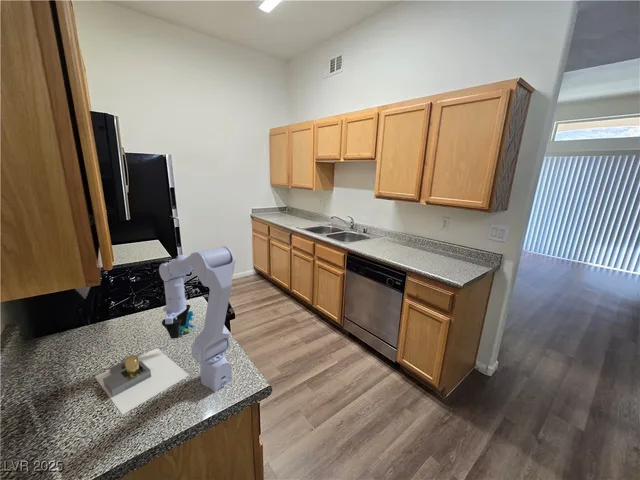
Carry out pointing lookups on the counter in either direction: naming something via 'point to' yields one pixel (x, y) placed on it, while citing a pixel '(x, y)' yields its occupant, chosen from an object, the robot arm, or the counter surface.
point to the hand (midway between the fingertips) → (178, 331)
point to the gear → (187, 323)
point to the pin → (132, 366)
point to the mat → (147, 381)
